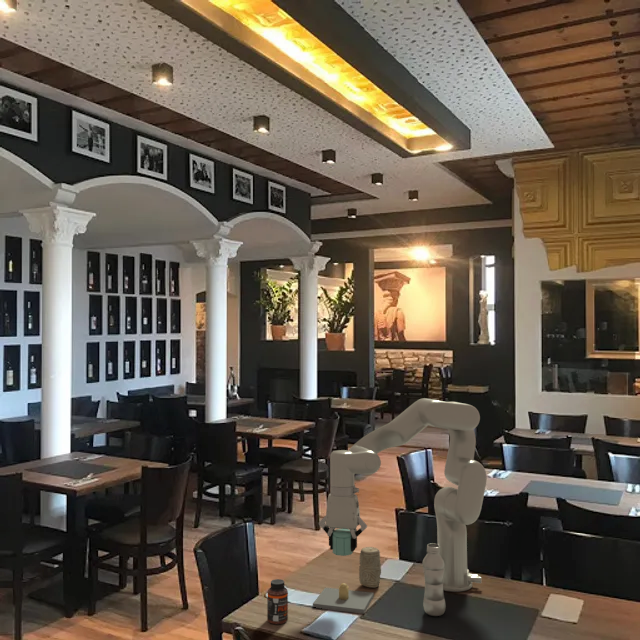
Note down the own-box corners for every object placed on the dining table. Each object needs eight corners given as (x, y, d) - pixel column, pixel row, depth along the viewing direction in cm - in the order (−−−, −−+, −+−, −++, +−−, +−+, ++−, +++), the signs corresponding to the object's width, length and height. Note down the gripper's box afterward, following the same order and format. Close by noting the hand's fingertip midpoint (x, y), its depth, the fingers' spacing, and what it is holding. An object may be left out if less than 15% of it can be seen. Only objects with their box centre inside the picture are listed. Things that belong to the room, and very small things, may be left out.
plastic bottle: (432, 620, 184) (431, 550, 184) (418, 611, 190) (417, 544, 190) (450, 616, 187) (449, 547, 187) (436, 607, 193) (435, 540, 193)
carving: (385, 586, 210) (384, 549, 210) (367, 591, 205) (366, 553, 206) (373, 580, 215) (372, 544, 215) (355, 585, 211) (355, 548, 211)
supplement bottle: (280, 627, 181) (279, 586, 181) (263, 622, 184) (262, 582, 184) (292, 619, 186) (291, 580, 186) (275, 614, 189) (275, 576, 189)
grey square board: (373, 596, 201) (373, 578, 201) (364, 613, 189) (363, 594, 189) (325, 591, 206) (325, 573, 206) (312, 607, 194) (312, 588, 194)
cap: (354, 550, 200) (354, 529, 200) (349, 556, 194) (349, 535, 194) (336, 548, 202) (336, 528, 202) (330, 554, 196) (330, 533, 196)
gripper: (372, 489, 199) (372, 548, 199) (319, 486, 205) (320, 543, 204) (366, 495, 192) (367, 555, 192) (312, 491, 197) (312, 550, 197)
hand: (342, 548), depth 198 cm, fingers closed on cap, 6 cm apart
